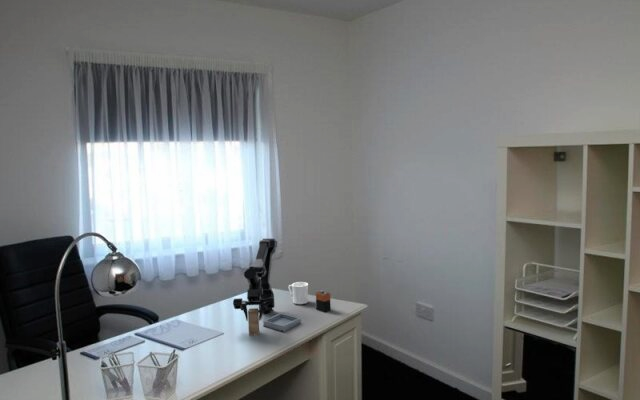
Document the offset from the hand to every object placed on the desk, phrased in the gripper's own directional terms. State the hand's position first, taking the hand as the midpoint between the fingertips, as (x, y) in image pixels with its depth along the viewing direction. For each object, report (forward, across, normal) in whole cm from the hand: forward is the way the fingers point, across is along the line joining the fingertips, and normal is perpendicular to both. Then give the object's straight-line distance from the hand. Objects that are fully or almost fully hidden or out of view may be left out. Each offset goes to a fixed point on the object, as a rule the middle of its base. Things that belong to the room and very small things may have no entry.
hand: (253, 320), depth 212 cm
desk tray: (-3, +12, +12) cm, 18 cm away
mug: (-25, +20, +34) cm, 47 cm away
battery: (-16, +33, +25) cm, 44 cm away
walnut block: (+4, 0, +6) cm, 7 cm away
